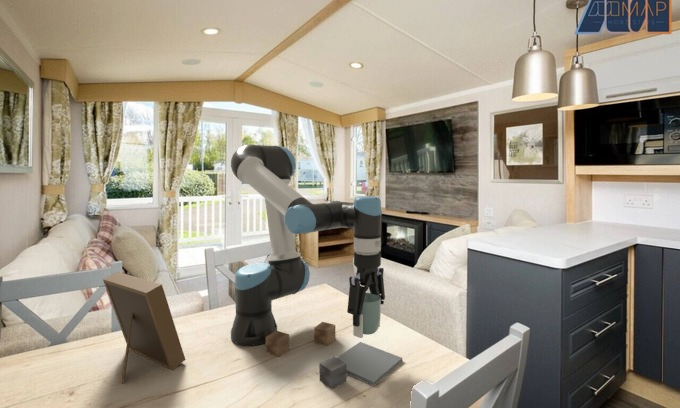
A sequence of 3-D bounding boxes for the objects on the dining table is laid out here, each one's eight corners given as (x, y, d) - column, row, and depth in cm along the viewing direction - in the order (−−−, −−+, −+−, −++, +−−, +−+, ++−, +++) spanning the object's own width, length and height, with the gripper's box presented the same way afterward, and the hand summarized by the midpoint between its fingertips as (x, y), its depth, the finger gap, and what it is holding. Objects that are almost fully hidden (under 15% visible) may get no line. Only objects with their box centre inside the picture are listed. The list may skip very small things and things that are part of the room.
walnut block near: (265, 352, 105) (265, 337, 105) (276, 345, 110) (276, 330, 109) (278, 357, 103) (278, 341, 102) (289, 349, 107) (289, 334, 107)
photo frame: (142, 343, 110) (137, 267, 108) (185, 363, 99) (181, 278, 97) (89, 366, 98) (82, 280, 95) (132, 391, 87) (125, 295, 84)
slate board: (329, 365, 98) (329, 362, 98) (360, 344, 110) (360, 341, 110) (373, 385, 89) (373, 382, 89) (402, 361, 101) (402, 357, 100)
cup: (379, 339, 94) (379, 303, 93) (350, 336, 95) (350, 301, 95) (381, 326, 101) (381, 293, 101) (355, 324, 103) (355, 291, 102)
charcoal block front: (319, 380, 91) (319, 362, 91) (334, 373, 94) (334, 356, 94) (331, 389, 87) (331, 371, 87) (346, 382, 91) (346, 363, 90)
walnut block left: (314, 342, 112) (314, 327, 111) (322, 336, 116) (322, 321, 115) (327, 346, 109) (327, 331, 109) (335, 339, 114) (335, 324, 113)
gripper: (356, 261, 86) (356, 349, 88) (397, 247, 102) (396, 322, 104) (333, 257, 91) (333, 340, 93) (376, 244, 107) (375, 315, 109)
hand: (366, 330), depth 98 cm, fingers closed on cup, 8 cm apart
